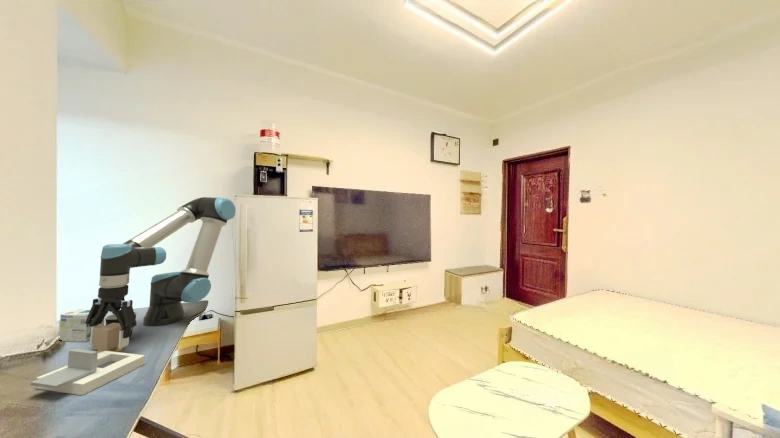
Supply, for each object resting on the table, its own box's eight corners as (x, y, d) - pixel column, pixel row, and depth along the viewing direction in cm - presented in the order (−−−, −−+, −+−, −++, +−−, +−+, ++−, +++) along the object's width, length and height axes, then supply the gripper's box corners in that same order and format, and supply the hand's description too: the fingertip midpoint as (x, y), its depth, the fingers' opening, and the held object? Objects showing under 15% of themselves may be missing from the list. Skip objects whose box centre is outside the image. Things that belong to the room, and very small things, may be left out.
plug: (111, 347, 95) (113, 322, 96) (125, 349, 95) (127, 324, 95) (91, 355, 89) (93, 329, 90) (105, 357, 89) (107, 330, 89)
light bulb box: (104, 335, 105) (106, 309, 106) (85, 342, 99) (87, 315, 99) (77, 334, 105) (79, 308, 105) (57, 341, 98) (59, 314, 98)
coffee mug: (113, 346, 96) (115, 320, 97) (97, 343, 98) (99, 317, 98) (148, 334, 108) (150, 310, 108) (133, 331, 109) (134, 308, 110)
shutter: (72, 367, 77) (74, 348, 77) (96, 370, 76) (97, 351, 76) (30, 385, 68) (32, 363, 69) (56, 388, 67) (57, 367, 68)
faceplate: (104, 359, 88) (105, 350, 88) (144, 364, 86) (145, 355, 86) (35, 388, 72) (36, 377, 72) (82, 395, 70) (83, 384, 70)
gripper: (73, 285, 90) (68, 346, 90) (130, 290, 88) (125, 353, 87) (99, 281, 98) (94, 337, 97) (152, 285, 95) (148, 343, 95)
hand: (109, 345), depth 92 cm, fingers open, 11 cm apart
